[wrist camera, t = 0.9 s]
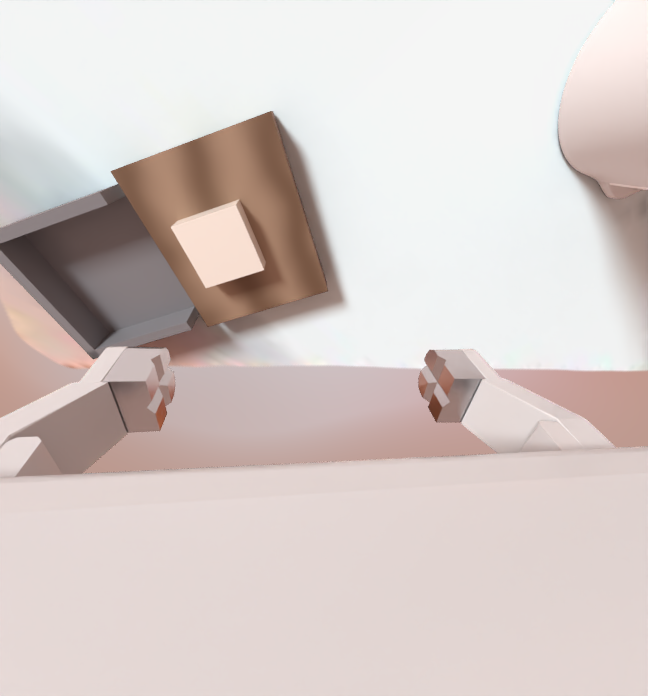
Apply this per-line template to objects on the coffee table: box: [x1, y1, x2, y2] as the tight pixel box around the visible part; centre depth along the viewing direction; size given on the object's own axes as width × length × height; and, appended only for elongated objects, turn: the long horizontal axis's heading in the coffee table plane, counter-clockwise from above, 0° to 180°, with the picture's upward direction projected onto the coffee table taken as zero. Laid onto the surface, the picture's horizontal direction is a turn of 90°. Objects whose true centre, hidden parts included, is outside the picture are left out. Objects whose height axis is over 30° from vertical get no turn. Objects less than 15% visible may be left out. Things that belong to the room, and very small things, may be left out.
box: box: [0, 184, 199, 359], centre depth 32 cm, size 12×14×4 cm
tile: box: [171, 200, 266, 288], centre depth 29 cm, size 6×6×2 cm
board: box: [111, 111, 328, 327], centre depth 31 cm, size 14×16×2 cm
